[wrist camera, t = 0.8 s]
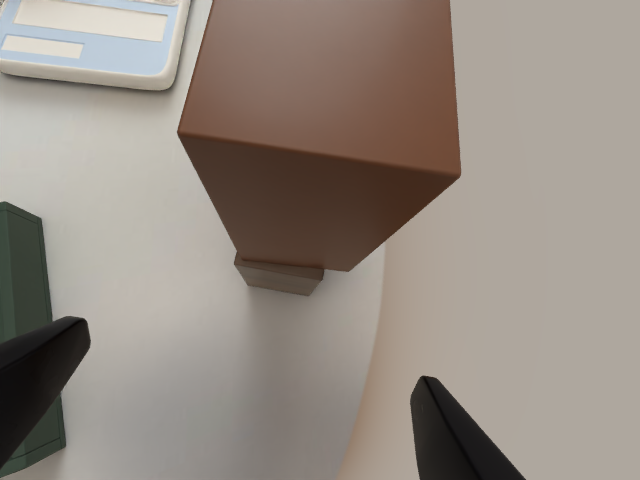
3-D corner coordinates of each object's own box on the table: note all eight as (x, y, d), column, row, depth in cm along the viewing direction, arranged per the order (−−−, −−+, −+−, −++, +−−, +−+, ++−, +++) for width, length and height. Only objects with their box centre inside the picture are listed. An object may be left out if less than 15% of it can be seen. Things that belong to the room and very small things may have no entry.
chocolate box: (349, 272, 15) (463, 177, 6) (240, 260, 15) (174, 132, 5) (358, 99, 19) (441, -139, 9) (270, 84, 18) (262, -186, 9)
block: (309, 296, 22) (322, 280, 15) (247, 285, 21) (233, 264, 15) (327, 187, 24) (346, 133, 18) (273, 175, 24) (271, 116, 17)
